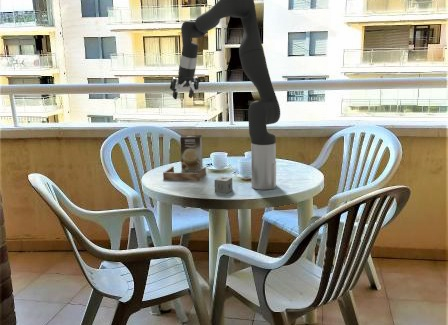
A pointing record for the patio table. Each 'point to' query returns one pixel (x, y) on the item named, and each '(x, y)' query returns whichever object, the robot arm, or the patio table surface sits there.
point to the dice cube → (223, 185)
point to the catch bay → (183, 175)
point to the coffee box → (191, 153)
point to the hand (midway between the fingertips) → (182, 98)
